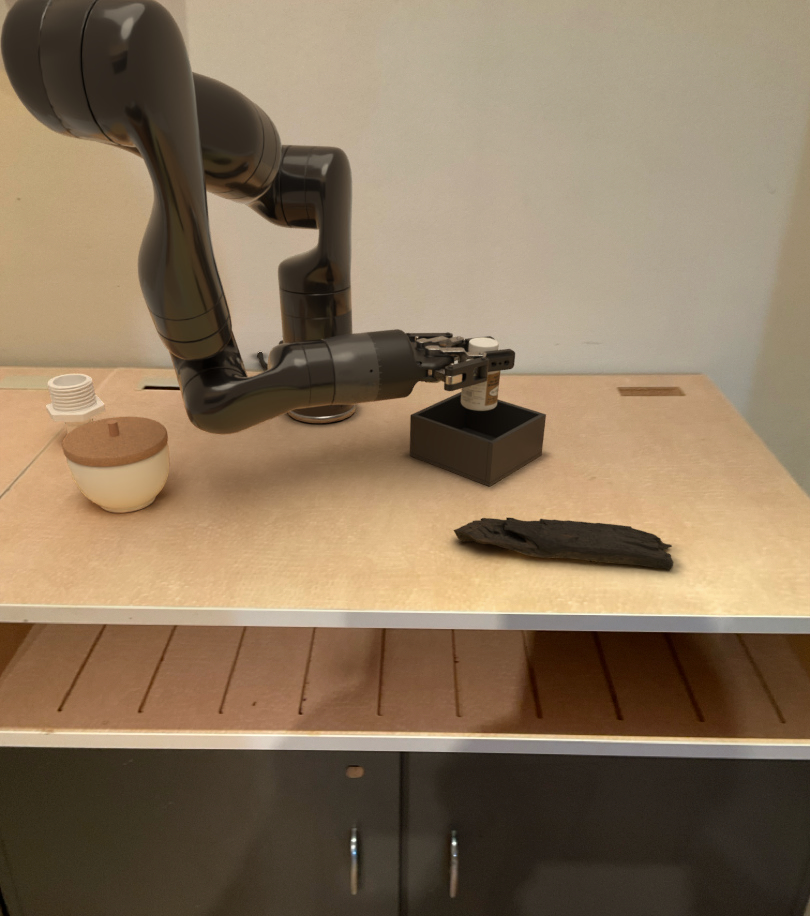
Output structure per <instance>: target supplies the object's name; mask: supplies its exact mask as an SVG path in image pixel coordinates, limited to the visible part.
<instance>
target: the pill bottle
mask: <svg viewBox="0 0 810 916" xmlns="http://www.w3.org/2000/svg"><path fill="white" fill-rule="evenodd" d="M472 338H473V339H471V340H470V341H469V348H468V351H469V352H485V351H494V350H499V348H500V343H499V341H498V340H496V339H495V338H494V339H495V340H494V339H491V338H477V337H472ZM469 360H473V359H468V360H466V361H469ZM500 379H501V371H493V372H488V376H487V381H486V382H483V383H479V384H476V385H472V386H468V387H465V388H461V391H460V392H461V404H462V405H463V406H464V407H465V408H467V409H470V410H475V411H487V410H491V409H494V408H495V407H496V406H497V400H499V391H500Z"/></svg>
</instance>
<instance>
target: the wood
mask: <svg viewBox="0 0 810 916" xmlns="http://www.w3.org/2000/svg"><path fill="white" fill-rule="evenodd" d="M453 532H454V535H456V538H457V539H458V540H459V541H461V542H463V543H466V542H469V543H470V542H476V543H477V544H480V545H493V546H497V547H500V548H503V549H507V550H509V551H513V552H516V553H519V554H522V555H525V556H529V557H535V558H540V559H559V558H564V559H573V560H580V561H588V562H591V563H592V562H596V563H608V564H613V565H614V564H619V565H620V564H622V565H630V566H641V567H650V568H655V569H664V570H665V569H666V570H669V569H672V568H673V567H674V563H675V562H674V560H673V558H672V554H671V553H669V552H666V550H669V549H670V548H673V546H672V544H669V543H665V542H663V541H662V539H661V538H660V537H659V536H657V535H656V534H654V533H651V532H647V531H644V530H642V529H637V528H634V527H632V526H630V525H623V524H614V523H604V522H603V523H602V522H589V521H588V522H587V521H579V520H578V521H575V520H569V519H568V520H561V519H545V518H540V519H539V520H521V519H517V518H514V517H506V519H500V518H490V517H482V518H480V519H479V520H472V521H471V522H468V523H467V524H465V525H461V526H459V528H456V529H453Z"/></svg>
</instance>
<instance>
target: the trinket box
mask: <svg viewBox="0 0 810 916" xmlns="http://www.w3.org/2000/svg"><path fill="white" fill-rule="evenodd" d="M61 447H62V452H63V455H64V456H65V459H66V463H67V467H68V470H69V472H70V475H71V477H72V480H73V481H74V482H75V485H76V487H77V488H78V489H79V491H80V492H81V494H82V495H84V496H85V498H86V499H88V500H89V501H90V502H92V503H94V504H96V505H97V506H99V507H100V508H101V509H102V510H104V511H107V512H111V513H115V514H116V513H117V514H118V513H119V514H121V513H131V512H136V511H139V510H142V509H144V508H147V507H148V506H151V504H153V503H154V502H155V500H156V498H157V496H158V494H160V493H161V491H162V490H163V489H164V487H165V485H166V483H167V480H168V478H169V477H168V476H169V473H170V449H169V435H168V430H167V428H166V427H165V425H163V424H162V423H161V422H160V421H157V420H155V419H151V418H147V417H141V416H116V417H114V416H113V417H108V418H107V417H106V418H102V419H97V420H93V422H90V423H87V424H84V425H82V426H80V427H77V428H76V429H74V430H72V431H71V432H69V433H68V434H66V435H65V436H64V438H63V439H62V442H61Z"/></svg>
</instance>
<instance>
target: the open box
mask: <svg viewBox="0 0 810 916" xmlns="http://www.w3.org/2000/svg"><path fill="white" fill-rule="evenodd" d="M409 416H410V417H409V421H410V423H409V428H410V430H409V456H410V457H411V458H414V459H417V460H419V461H422V462H425V463H427V464H429V465H433V466H435V467H437V468H440V469H443V470H446V471H448V472H451V473H453V474H456V475H459V476H461V477H464V478H465V479H469V480H472V481H474V482H477V483H479V484H482V485H483V486H487V487H492V486H493V485H495V484H497V483H498V482H499V481H501V480H503V479H505V478H506V477H508V476H509V475H512V474H513V473H514V472H516V471H518V470H520V469H521V468H523V467H524V466H526V465H528V464H530V463H531V462H532V461H534V460H536V459H538V458H539V457H541V456H542V455H543V447H544V437H545V429H546V428H545V427H546V419H547V414H546V413H543V412H540V411H536V410H534V409H530V408H527V407H523V406H520V405H517V404H514V403H511V402H509V401H504V400H501V399H498V400H497V406H496V407H495V408H494V409H491V410H487V411H475V410H470V409H467V408H465V407H464V406H463V405H462V404H461V391H460V392H457V393H455V394H453V395H451V396H448V397H447V398H443V399H442V400H440V401H438V402H436V403H433V404H431V405H428V406H427V407H424V408H422V409H419V410H418V411H416V412H413V413H412V414H410V415H409Z"/></svg>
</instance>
